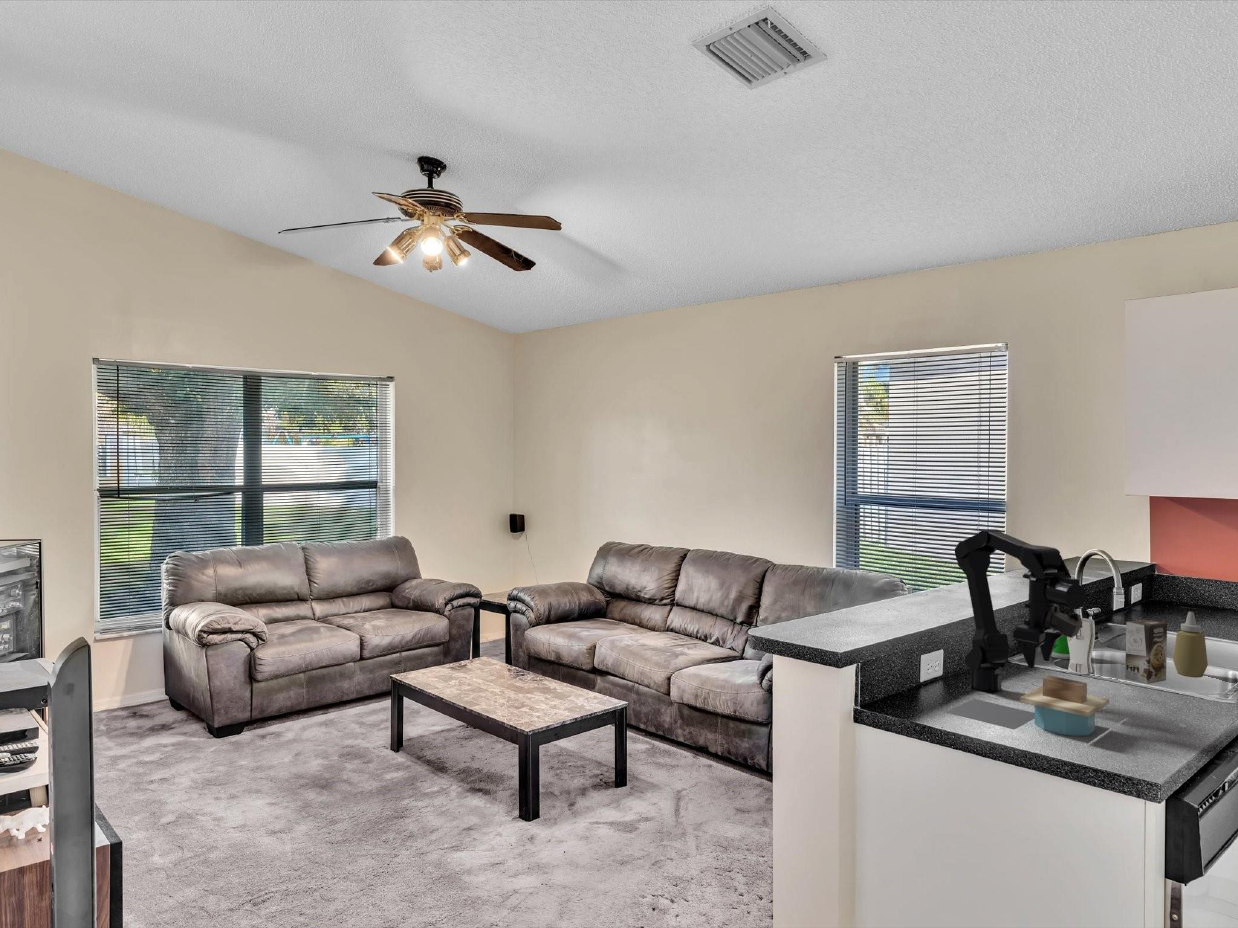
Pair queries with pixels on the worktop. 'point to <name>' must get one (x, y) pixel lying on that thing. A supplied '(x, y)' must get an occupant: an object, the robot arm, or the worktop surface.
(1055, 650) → the soda can
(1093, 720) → the bowl
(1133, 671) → the cookie box
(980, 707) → the mat
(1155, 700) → the worktop surface
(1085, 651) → the white tall piece
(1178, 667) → the squeeze bottle
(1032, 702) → the lid
